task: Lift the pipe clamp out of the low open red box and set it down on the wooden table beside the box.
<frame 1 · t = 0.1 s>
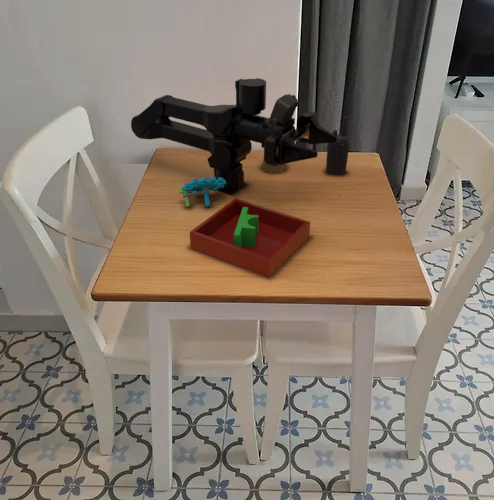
hand: (327, 146, 114), 17 cm above the table, tool horizontal, fingers open, 9 cm apart
blue toy dinosaur: (203, 201, 128), on the table
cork: (273, 168, 143), on the table
open red box: (251, 242, 114), on the table
pipe clamp: (247, 240, 114), resting on open red box
two-way radio: (335, 174, 141), on the table
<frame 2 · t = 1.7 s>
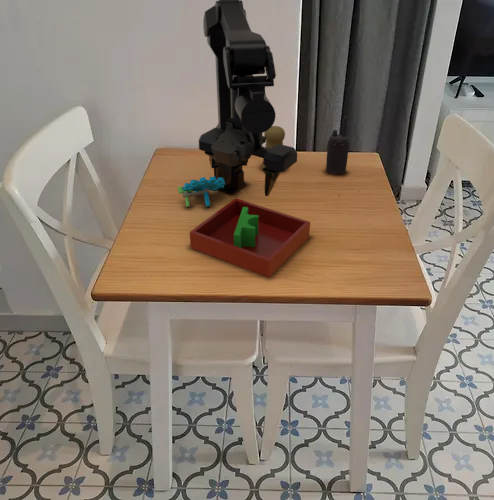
hand: (247, 189, 107), 12 cm above the table, tool pointing down, fingers open, 9 cm apart
nothing on the table moved.
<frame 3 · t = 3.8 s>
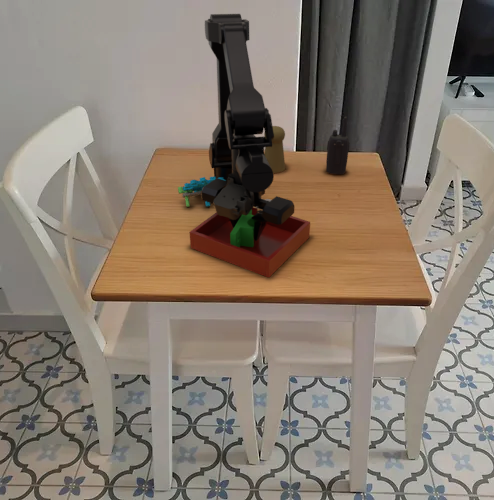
hand: (247, 236, 113), 1 cm above the table, tool pointing down, fingers closed on pipe clamp, 4 cm apart
pipe clamp: (247, 240, 114), resting on open red box, touching gripper
everything else where it was.
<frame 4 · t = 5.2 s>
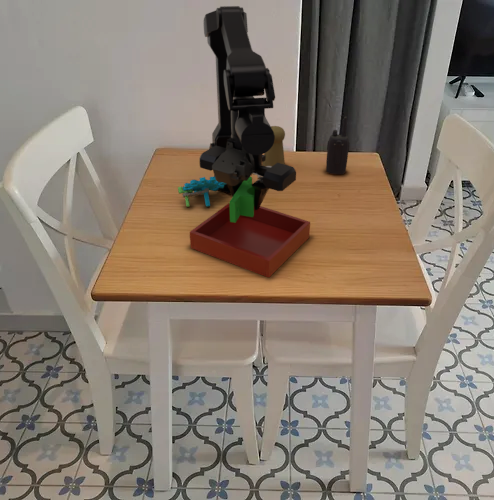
hand: (246, 206, 109), 8 cm above the table, tool pointing down, fingers closed on pipe clamp, 4 cm apart
pipe clamp: (246, 210, 110), point 7 cm above the table, touching gripper
everything else where it was.
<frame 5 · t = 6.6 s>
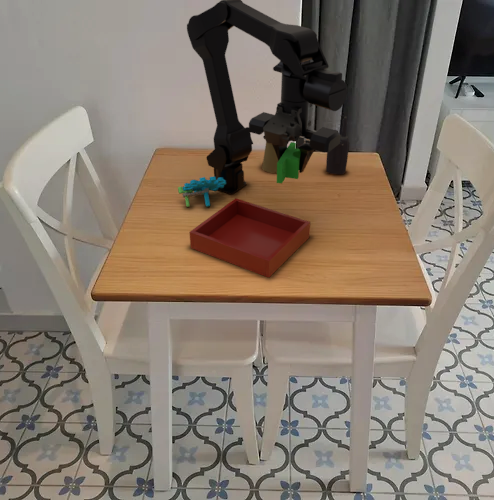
hand: (291, 169, 117), 11 cm above the table, tool pointing down, fingers closed on pipe clamp, 4 cm apart
pipe clamp: (291, 173, 117), point 10 cm above the table, touching gripper
everything else where it was.
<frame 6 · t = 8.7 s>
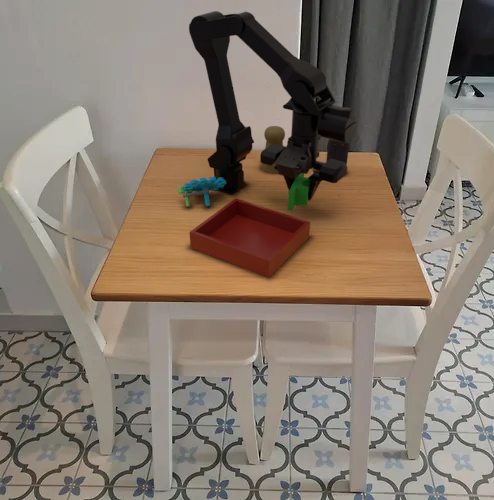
hand: (300, 197, 124), 3 cm above the table, tool pointing down, fingers closed on pipe clamp, 4 cm apart
pipe clamp: (300, 200, 125), point 2 cm above the table, touching gripper
everything else where it was.
when the fingers open (1 cm above the table, at t = 9.7 s): pipe clamp stays where it is, on the table.
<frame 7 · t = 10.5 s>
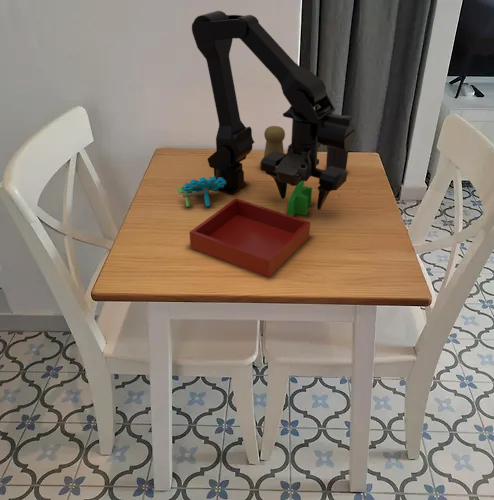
hand: (300, 203, 125), 1 cm above the table, tool pointing down, fingers open, 9 cm apart
pipe clamp: (300, 209, 126), on the table
everything else where it was.
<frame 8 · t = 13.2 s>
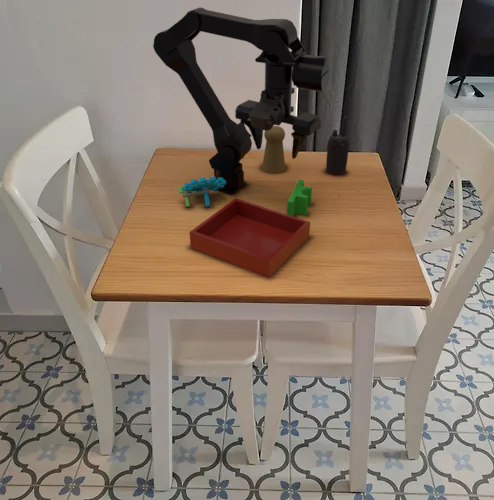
hand: (276, 153, 124), 11 cm above the table, tool pointing down, fingers open, 9 cm apart
nothing on the table moved.
at the end: pipe clamp inside the target area (0.2 cm from its centre), on the table; the gripper is holding nothing; pipe clamp touching table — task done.
